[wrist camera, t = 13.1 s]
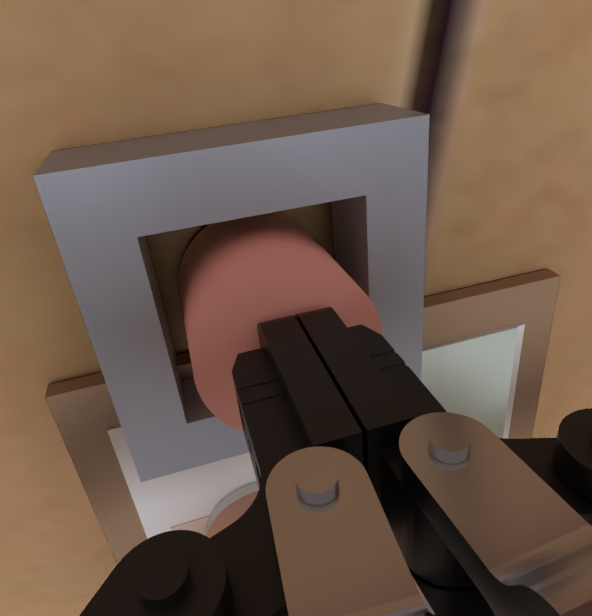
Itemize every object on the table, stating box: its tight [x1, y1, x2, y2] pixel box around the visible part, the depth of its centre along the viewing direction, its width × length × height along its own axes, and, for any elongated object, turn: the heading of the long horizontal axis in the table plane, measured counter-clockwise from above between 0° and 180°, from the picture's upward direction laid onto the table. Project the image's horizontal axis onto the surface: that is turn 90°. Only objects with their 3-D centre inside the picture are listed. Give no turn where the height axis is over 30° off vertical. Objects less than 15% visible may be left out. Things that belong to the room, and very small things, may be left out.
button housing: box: [33, 103, 430, 482], centre depth 13 cm, size 8×8×2 cm
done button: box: [178, 212, 382, 431], centre depth 12 cm, size 4×4×4 cm
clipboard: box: [45, 269, 560, 564], centre depth 20 cm, size 20×16×1 cm
